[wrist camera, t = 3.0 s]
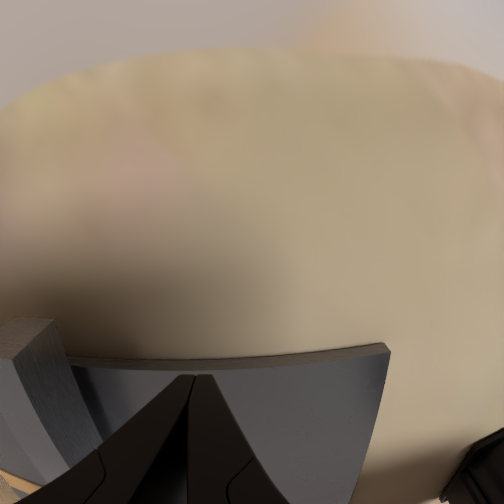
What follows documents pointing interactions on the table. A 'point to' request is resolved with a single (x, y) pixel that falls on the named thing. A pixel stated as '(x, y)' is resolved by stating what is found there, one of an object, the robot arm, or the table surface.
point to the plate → (252, 412)
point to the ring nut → (43, 397)
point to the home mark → (19, 483)
